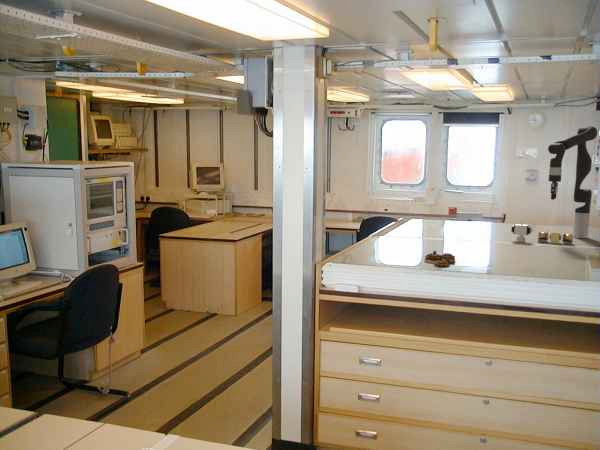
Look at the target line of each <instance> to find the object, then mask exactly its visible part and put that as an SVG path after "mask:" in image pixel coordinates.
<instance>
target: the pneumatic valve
mask: <svg viewBox="0 0 600 450" xmlns="http://www.w3.org/2000/svg"><path fill="white" fill-rule="evenodd" d="M532 230H533V227H532V226H530V225H529V224H523V223H519V224H518V223H517V224H516V223H515V224H513V225H512V226H511V230H510V231H511V233H513V235H517V236H516V241H517V242H518V243H524V242H526V237H525V236H529V235H530V234H532V232H533V231H532Z"/></svg>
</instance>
